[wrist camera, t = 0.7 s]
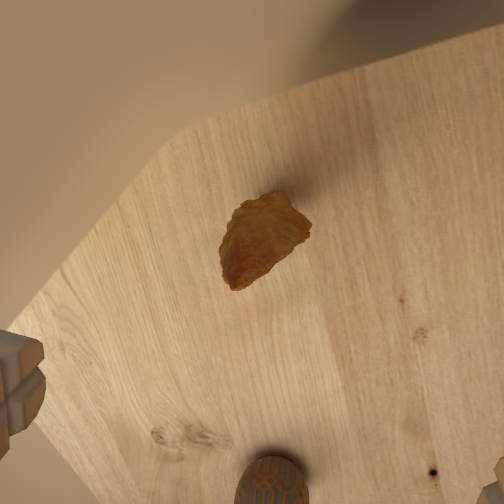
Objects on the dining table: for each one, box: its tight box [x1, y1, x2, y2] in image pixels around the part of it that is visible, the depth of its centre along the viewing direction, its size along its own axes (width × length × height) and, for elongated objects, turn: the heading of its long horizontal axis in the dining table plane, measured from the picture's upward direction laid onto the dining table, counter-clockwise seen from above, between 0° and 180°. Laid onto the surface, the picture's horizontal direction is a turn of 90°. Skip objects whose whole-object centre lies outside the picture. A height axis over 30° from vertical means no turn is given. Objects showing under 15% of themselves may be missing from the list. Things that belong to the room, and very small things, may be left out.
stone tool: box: [219, 192, 312, 291], centre depth 27 cm, size 5×2×15 cm, turn 95°
